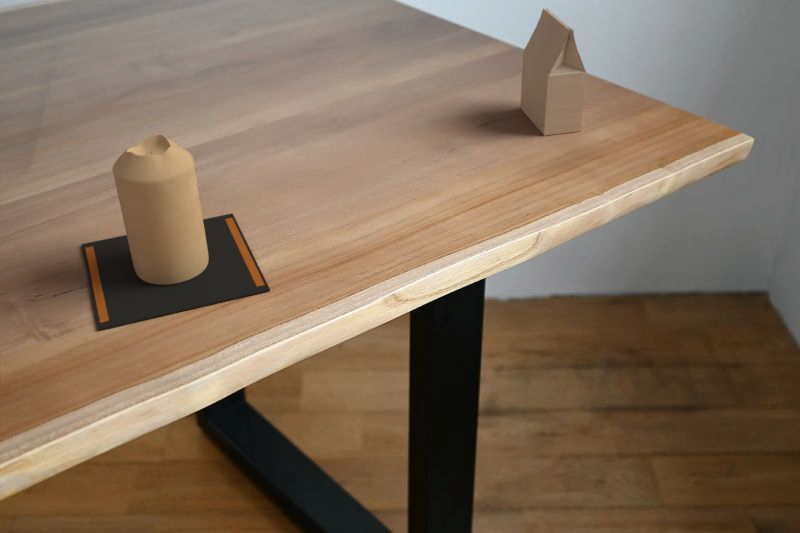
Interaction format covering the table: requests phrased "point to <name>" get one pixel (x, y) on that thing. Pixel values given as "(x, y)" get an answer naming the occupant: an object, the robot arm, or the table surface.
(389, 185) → the table surface
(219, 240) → the mat
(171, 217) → the candle
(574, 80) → the tan gable-top carton
